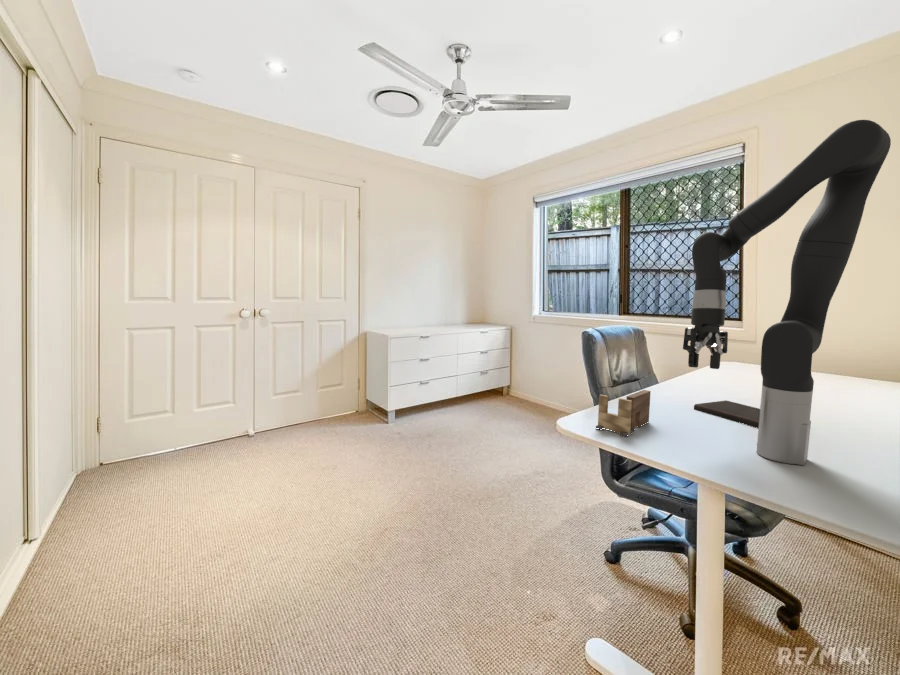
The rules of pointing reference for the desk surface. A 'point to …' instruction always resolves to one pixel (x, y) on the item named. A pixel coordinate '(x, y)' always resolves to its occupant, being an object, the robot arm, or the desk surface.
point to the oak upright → (615, 416)
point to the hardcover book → (731, 411)
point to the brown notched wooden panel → (639, 408)
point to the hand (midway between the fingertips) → (704, 368)
